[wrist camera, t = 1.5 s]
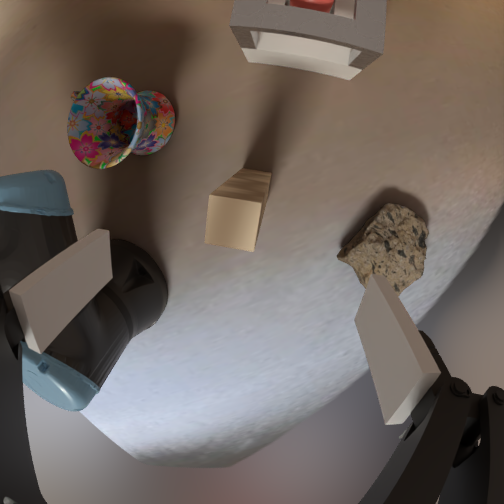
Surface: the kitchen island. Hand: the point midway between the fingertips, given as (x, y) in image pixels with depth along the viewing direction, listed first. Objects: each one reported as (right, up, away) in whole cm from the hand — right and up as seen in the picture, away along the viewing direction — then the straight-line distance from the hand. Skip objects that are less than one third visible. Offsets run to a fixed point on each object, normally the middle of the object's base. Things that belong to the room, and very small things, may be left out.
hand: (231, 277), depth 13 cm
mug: (-13, +19, +19) cm, 29 cm away
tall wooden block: (+1, +9, +21) cm, 23 cm away
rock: (+19, +2, +22) cm, 29 cm away
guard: (+7, +25, +7) cm, 27 cm away
